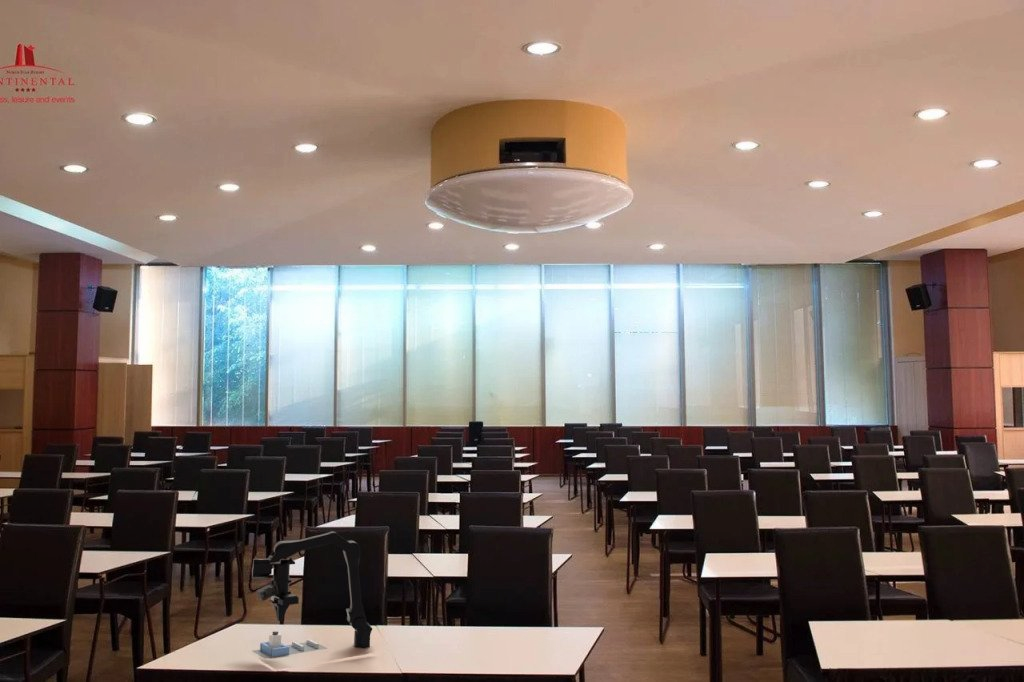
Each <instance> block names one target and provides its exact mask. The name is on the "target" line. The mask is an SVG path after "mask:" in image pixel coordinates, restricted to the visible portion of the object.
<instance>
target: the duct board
mask: <svg viewBox="0 0 1024 682" xmlns="http://www.w3.org/2000/svg"><path fill="white" fill-rule="evenodd" d="M325 649H327V647H326V646H324V645H322V644H319V643H318V642H316V641H314V640H312V639H309V638H308V639H307V638H306V642H296V641H292V642H291V644H285V643H282V642H281V647H280V648H273V647H271V646H269V641H263V642H260V644H259V649H255V650H254V649H253V650H252V652H253V653H255V654H257V655H258V656H260V657H262V658H264V659H270V658H276V657H284V656H289V655H295V654H300V653H308V652H314V651H320V650H325Z"/></svg>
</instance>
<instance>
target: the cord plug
mask: <svg viewBox="0 0 1024 682" xmlns="http://www.w3.org/2000/svg"><path fill="white" fill-rule="evenodd" d="M268 642H269V646H271V647H273V648H280V647H281V643H282V634H281V633H279V631H277V630H275V631H272V633H269V635H268Z"/></svg>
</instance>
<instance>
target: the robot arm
mask: <svg viewBox="0 0 1024 682" xmlns="http://www.w3.org/2000/svg"><path fill="white" fill-rule="evenodd" d="M329 544H330V545H335V546H336V547H337V548H339V549H341V550H342V552H343V557H344V559H345V562H346V565H347V575H348V577H347V578H348V590H349V598H350V604H349V605H350V606H349V608H345V611H346V615H347V616H346V620H347V622H348V623H349V624H350V626H351V627H352V628H353V629H354V637H353V646H354V648H358V649H366V648H371V647H370V646H371V634H372V631H373V628H372V626H371V625H370V623H369V622H367V617H366V613H365V610H364V606H363V602H362V596H361V593H362V592H361V582H360V572H359V571H360V570H359V569H360V568H359V565H360V559H361V547H360V545H359V543H357V542H356V541H354V540H352V539H351V540H347V539H346V538H345V537H342V536H341V535H340V534H338V533H337V532H336V531H329V532H325V533H323V534H319V535H314V536H309V537H307V538H303V539H296V540H295V539H294V540H293V539H292V540H280V541H277V542H276V543H275V544H274V546H273V551H272V552H271V553H270V555H269V556H268V557H267V558H253V559H252V560H253V561H252V567H251V579H266V578H269V576H272V575H273V576H272V579H270V581H269V584H267V585H265V586H262V587H261V588H259V589H257V590H256V594H257V599H258V600H261V601H262V602H264V601H266V600H268V599H269V598H270V600H269V601H268V602H269V603H271V605H273V607H274V610H275V614H276V619H277V622H281V621H282V620H283V618H284V616H285V614H286V612H287V611H288V608H289V607H290V606H291V605H299V603H300V597H298V595H296V594H294V593H293V594H292V591H291V590H290V584H292V579H290V565H295V564H296V562H295V560H293V558H292V556H294V555H296V554H298V553H300V552H303V551H307V550H310V549H314V548H318V547H323V546H326V545H329Z"/></svg>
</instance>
